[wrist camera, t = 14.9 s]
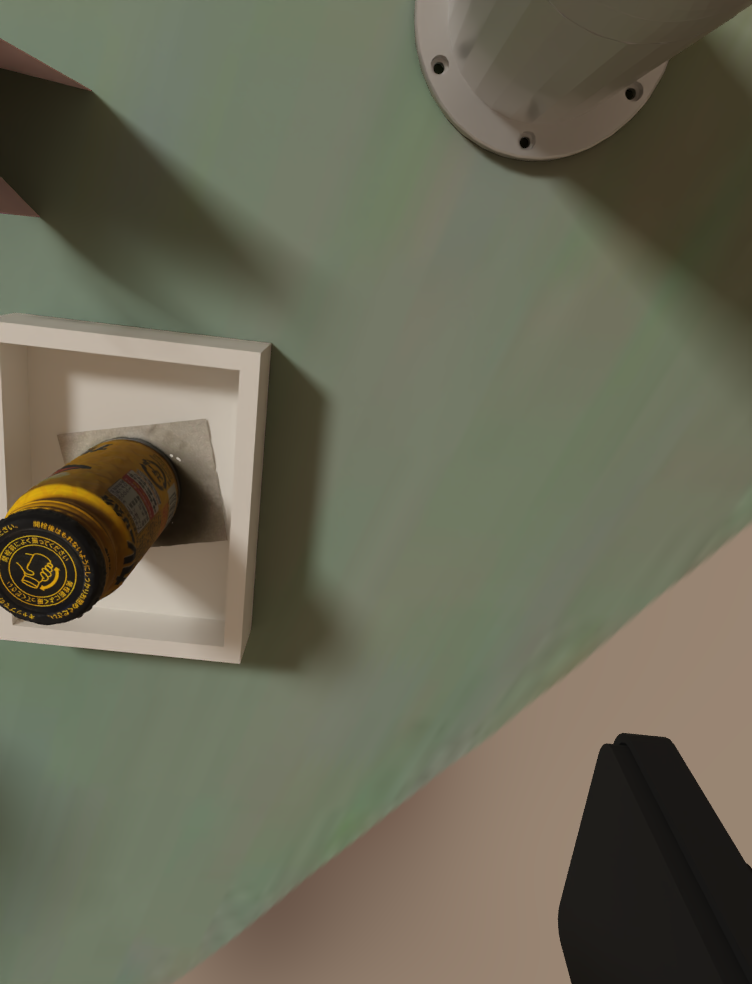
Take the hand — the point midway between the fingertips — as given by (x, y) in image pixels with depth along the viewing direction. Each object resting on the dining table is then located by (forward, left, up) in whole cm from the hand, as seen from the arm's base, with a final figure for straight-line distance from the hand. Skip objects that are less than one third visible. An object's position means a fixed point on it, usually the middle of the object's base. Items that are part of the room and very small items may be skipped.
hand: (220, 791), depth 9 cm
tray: (+8, -11, -33) cm, 36 cm away
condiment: (+8, -10, -32) cm, 35 cm away
